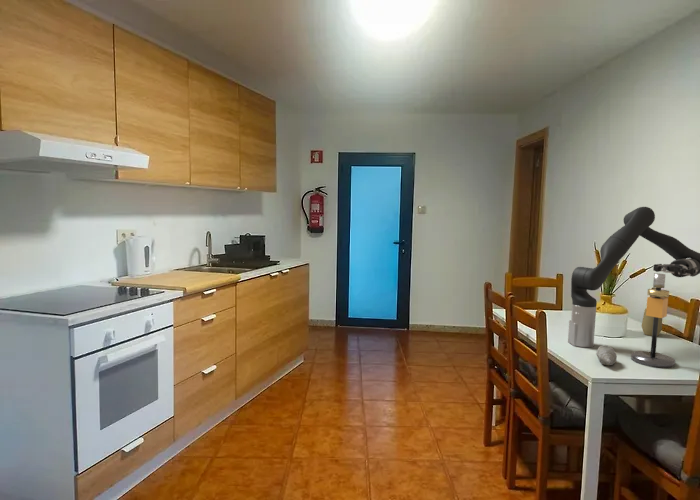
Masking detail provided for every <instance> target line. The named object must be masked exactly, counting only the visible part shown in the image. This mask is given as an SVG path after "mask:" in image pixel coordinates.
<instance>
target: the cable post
mask: <svg viewBox="0 0 700 500" xmlns="http://www.w3.org/2000/svg"><path fill="white" fill-rule="evenodd" d="M665 283H666V273H665V274H664V273H658V272H656V273H653V282H652V287H653V288H647V296H648V297H650V296H654V297H655V298H659V299H660V297H664V298H669V297H670V291H669V290H667V289H665V288H666V287H665V286H666V284H665ZM658 319H659V318H657V317H654V318H653V330H652V336H651V344H650V351H648V350H647V351H646V350H635V351H632V352H631V356H630V359H631V361H633V362H634V363H636V364H640V365H641V366H647V367H650V368H656V369H658V368H659V369H672V368H675V366H676V365H675V364H676V359H675V358H674V357H672V356H669V355H667V354H663V353H659V352H657V342H658V341H657V340H658V336H657V331H658Z"/></svg>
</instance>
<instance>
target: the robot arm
mask: <svg viewBox="0 0 700 500" xmlns="http://www.w3.org/2000/svg"><path fill="white" fill-rule="evenodd" d="M655 214H656V213H655V211H654V210H653V209H652V208H650V207H649V206H639V207H637V208H635V209H633V210H632V211H630V212H628V213H627V214H625V215H624V217H623V224H624V225H623V226H622V227H620V228H619V229H617V230H616V231H615V232H614V233H612V234H611V235H610V236H609V237H608V238H607V239H606V240H605V242H604V243H602V245H601V246H600V251H599V253H600V262H599V263H598V264H597V265H596V266H595V267H593V268H592V267H585V266H577V267H575V268H574V269H573V271H572V274H571V280H570V281H571V283H570V286H571V287H570V289H571V290H570V297H571V300H572V303H571V317H570V319H571V320H569V321H568V335H567V342H568V343H569V344H571V345H572V346H573V347H580V348H593V347H594V345H595V332H596V331H595V330H596V317H597V316H596V315H597V303H598V302H597V299H596V298H595V297H593V296H592V295H590V293H589V292H588V291H596V290H599V289H600V288H601V287H602V286H603V284H604V282H605V281H606V280H607V279H608V277H609V275H610V274H611V272H612V270H614V268H615V267H616V265H617V264H618V263H619V262H620V261H621V259H622V258H623V257H624V256H625V255H626V253H628V251H630V249H631V247H632V246H633V245H634V244H635V242H636V241H637V239H639V237H641V238H643V239H645V240H647V241H648V242H650V243H652V244H654V245H655V246H657V247H658V248H660V249H661V250H662V251H664V252H665V253H667V254H668V255H669V256H670V257H672V258H673V259H674V260H673V261H671V262H670V263H669V264H668V263H663V264H662V263H657V264H653V270H652V271H654V272H656V273H658V272H662V273H665V274H666V273H667V274H668V273H669V274H671V275H672V276H673V277H676V278H684V277H685V278H686V277H688V276H690V277H696V276H699V274H700V252H699V251H696V250H694V249H691V248H689V247H688V246H687V245H685V244H684V243H683V242H682V241H680V240H679V239H677V238H675V237H673V236H671V235H670V234H669V235H668V234H665V233H662V232H659V231H657V230H655V229H653V228H651V227H650V226H651V225H653V224H654V222H655V219H656V215H655Z"/></svg>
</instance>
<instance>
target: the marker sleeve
mask: <svg viewBox="0 0 700 500" xmlns="http://www.w3.org/2000/svg"><path fill="white" fill-rule="evenodd" d="M668 306H669V297H660V299H659V298H655V297H654V296H648V297H647V299H646V308H645V309H646V316H652V317H657V318H662V319H663V318H666V317H667V316H668Z"/></svg>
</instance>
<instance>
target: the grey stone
mask: <svg viewBox="0 0 700 500" xmlns="http://www.w3.org/2000/svg"><path fill="white" fill-rule="evenodd" d="M595 355H596V357H597V359H598V360H599V362H600V363H601V364H602V365H605V366H612V365H614V364H615V363H616V361H617V357H618V355H617V353H616V352H615V349H614V348H613V347H611V346H608V345H606V344H605V345H599V347H598V348H597V351H596V353H595Z"/></svg>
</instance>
